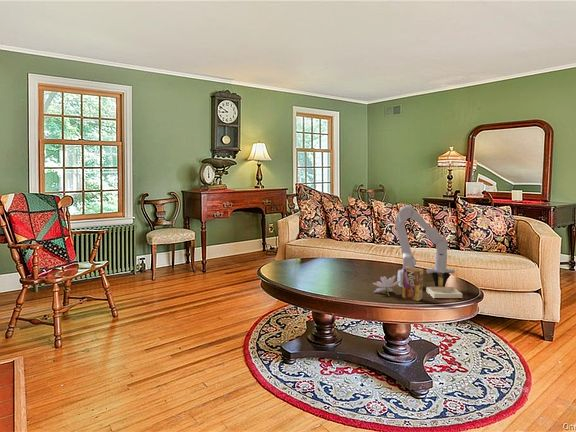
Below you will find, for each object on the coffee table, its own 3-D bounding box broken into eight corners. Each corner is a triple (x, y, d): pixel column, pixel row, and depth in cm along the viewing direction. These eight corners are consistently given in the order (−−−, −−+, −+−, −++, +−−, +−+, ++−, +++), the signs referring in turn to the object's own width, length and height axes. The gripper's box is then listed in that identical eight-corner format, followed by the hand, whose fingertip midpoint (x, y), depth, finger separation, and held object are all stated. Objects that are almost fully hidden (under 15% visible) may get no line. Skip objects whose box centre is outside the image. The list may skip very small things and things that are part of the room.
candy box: (422, 299, 209) (424, 269, 207) (418, 301, 206) (419, 270, 204) (405, 295, 215) (407, 266, 213) (401, 297, 212) (403, 267, 210)
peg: (437, 289, 226) (438, 278, 225) (435, 288, 229) (436, 277, 228) (443, 289, 226) (444, 278, 225) (441, 288, 229) (442, 277, 228)
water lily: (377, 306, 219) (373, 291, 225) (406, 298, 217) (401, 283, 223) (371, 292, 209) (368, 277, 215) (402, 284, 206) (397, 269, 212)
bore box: (434, 298, 210) (434, 293, 210) (426, 291, 222) (426, 286, 222) (462, 298, 211) (462, 293, 210) (452, 291, 222) (452, 287, 222)
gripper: (430, 263, 222) (428, 288, 223) (457, 263, 222) (456, 288, 223) (425, 260, 229) (424, 284, 230) (452, 260, 229) (450, 284, 230)
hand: (439, 286), depth 227 cm, fingers open, 3 cm apart
